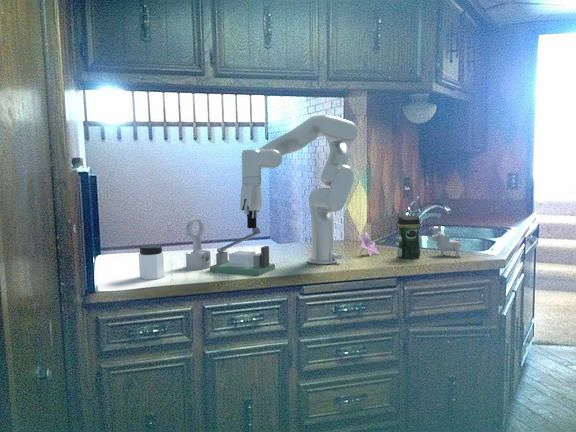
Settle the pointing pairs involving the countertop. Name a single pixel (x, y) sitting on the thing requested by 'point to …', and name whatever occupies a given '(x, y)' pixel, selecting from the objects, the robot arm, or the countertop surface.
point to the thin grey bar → (255, 232)
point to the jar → (151, 262)
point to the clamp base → (241, 270)
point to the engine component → (197, 249)
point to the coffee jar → (408, 237)
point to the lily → (368, 244)
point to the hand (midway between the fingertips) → (251, 228)
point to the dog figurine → (446, 243)
